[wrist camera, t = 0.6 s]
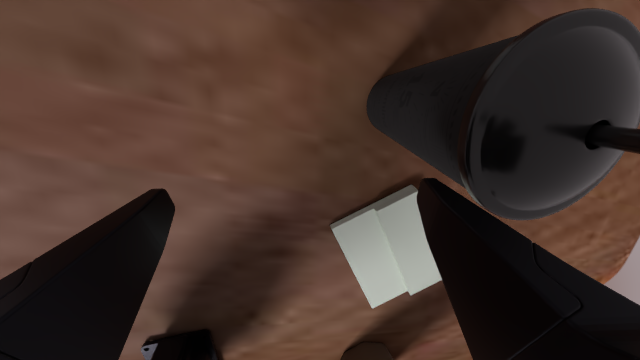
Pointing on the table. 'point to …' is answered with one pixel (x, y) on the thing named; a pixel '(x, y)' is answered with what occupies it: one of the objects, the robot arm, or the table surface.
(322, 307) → the table surface
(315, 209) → the table surface
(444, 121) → the drinking cup
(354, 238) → the napkin
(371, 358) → the beer bottle
